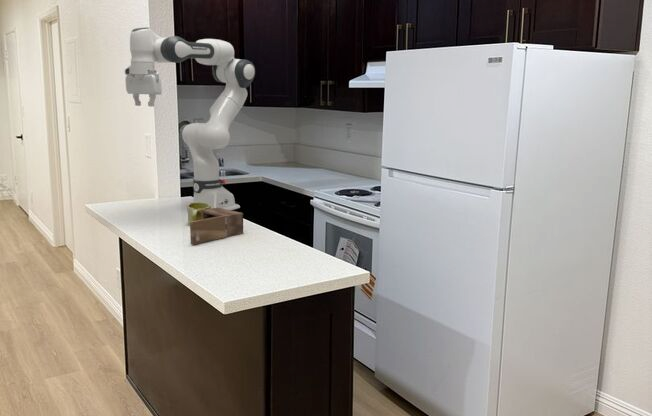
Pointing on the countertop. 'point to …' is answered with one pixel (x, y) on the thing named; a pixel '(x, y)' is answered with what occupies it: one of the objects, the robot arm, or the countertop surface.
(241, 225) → the cabinet
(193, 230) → the door
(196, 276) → the countertop surface
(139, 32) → the robot arm
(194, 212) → the mug
